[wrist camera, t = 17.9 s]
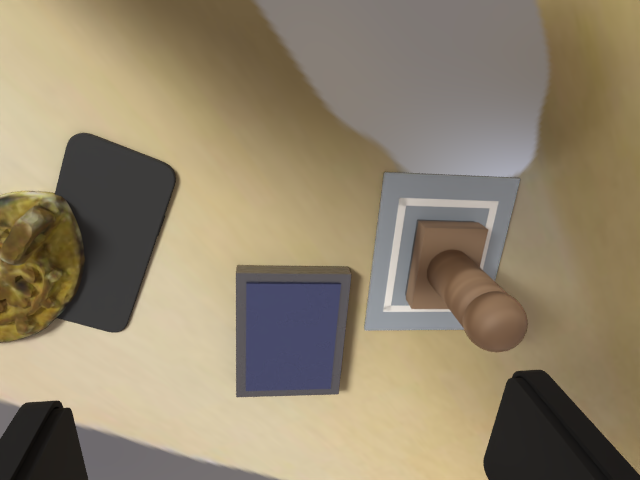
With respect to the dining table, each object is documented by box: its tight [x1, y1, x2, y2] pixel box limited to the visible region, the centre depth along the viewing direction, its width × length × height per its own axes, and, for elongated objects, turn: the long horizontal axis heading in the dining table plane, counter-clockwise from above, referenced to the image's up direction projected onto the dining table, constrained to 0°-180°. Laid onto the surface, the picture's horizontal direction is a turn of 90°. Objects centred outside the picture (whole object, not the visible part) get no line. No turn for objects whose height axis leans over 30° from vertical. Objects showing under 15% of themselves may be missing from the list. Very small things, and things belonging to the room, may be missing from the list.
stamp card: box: [364, 172, 520, 330], centre depth 36 cm, size 14×11×1 cm
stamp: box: [405, 219, 528, 352], centre depth 30 cm, size 7×5×11 cm
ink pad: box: [236, 265, 351, 397], centre depth 36 cm, size 12×9×2 cm
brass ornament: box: [0, 191, 85, 343], centre depth 31 cm, size 9×5×15 cm
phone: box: [55, 133, 176, 332], centre depth 32 cm, size 7×1×15 cm
